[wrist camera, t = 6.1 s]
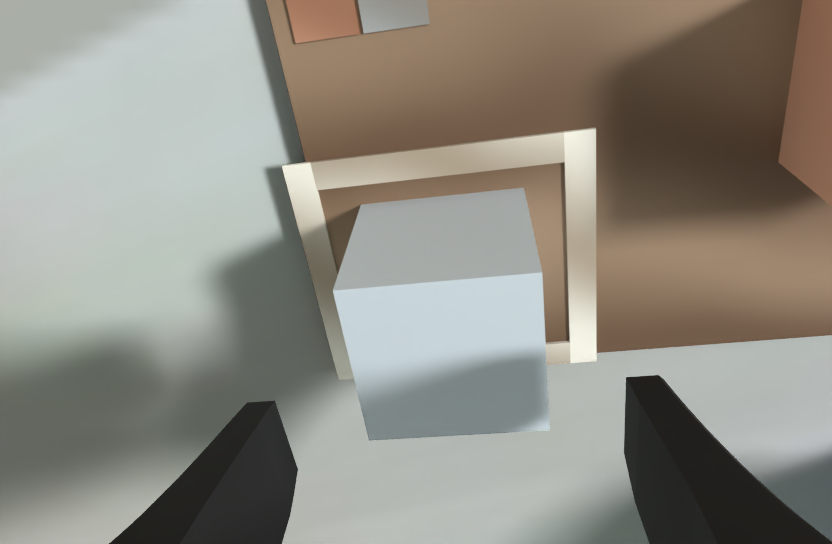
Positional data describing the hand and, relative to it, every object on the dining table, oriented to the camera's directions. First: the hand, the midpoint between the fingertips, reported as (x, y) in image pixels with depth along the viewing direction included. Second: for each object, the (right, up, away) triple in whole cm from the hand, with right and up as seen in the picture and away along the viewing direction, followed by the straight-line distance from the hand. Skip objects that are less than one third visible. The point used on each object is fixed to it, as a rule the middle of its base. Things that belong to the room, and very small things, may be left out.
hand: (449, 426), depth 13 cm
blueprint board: (+5, +7, +4) cm, 9 cm away
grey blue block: (0, +3, +5) cm, 6 cm away
